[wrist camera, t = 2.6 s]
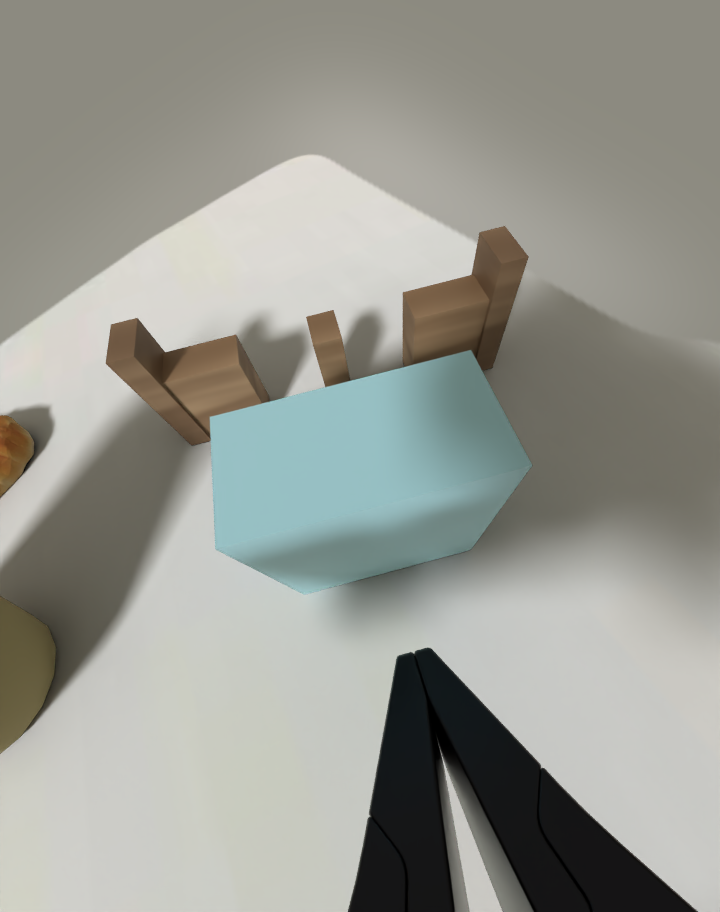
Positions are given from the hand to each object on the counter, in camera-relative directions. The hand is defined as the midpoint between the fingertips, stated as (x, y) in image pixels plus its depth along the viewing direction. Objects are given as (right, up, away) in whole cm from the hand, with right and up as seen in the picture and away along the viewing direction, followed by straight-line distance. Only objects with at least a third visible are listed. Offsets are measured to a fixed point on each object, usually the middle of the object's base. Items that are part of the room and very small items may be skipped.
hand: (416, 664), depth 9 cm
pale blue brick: (-1, +3, +10) cm, 10 cm away
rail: (-3, +9, +13) cm, 16 cm away
